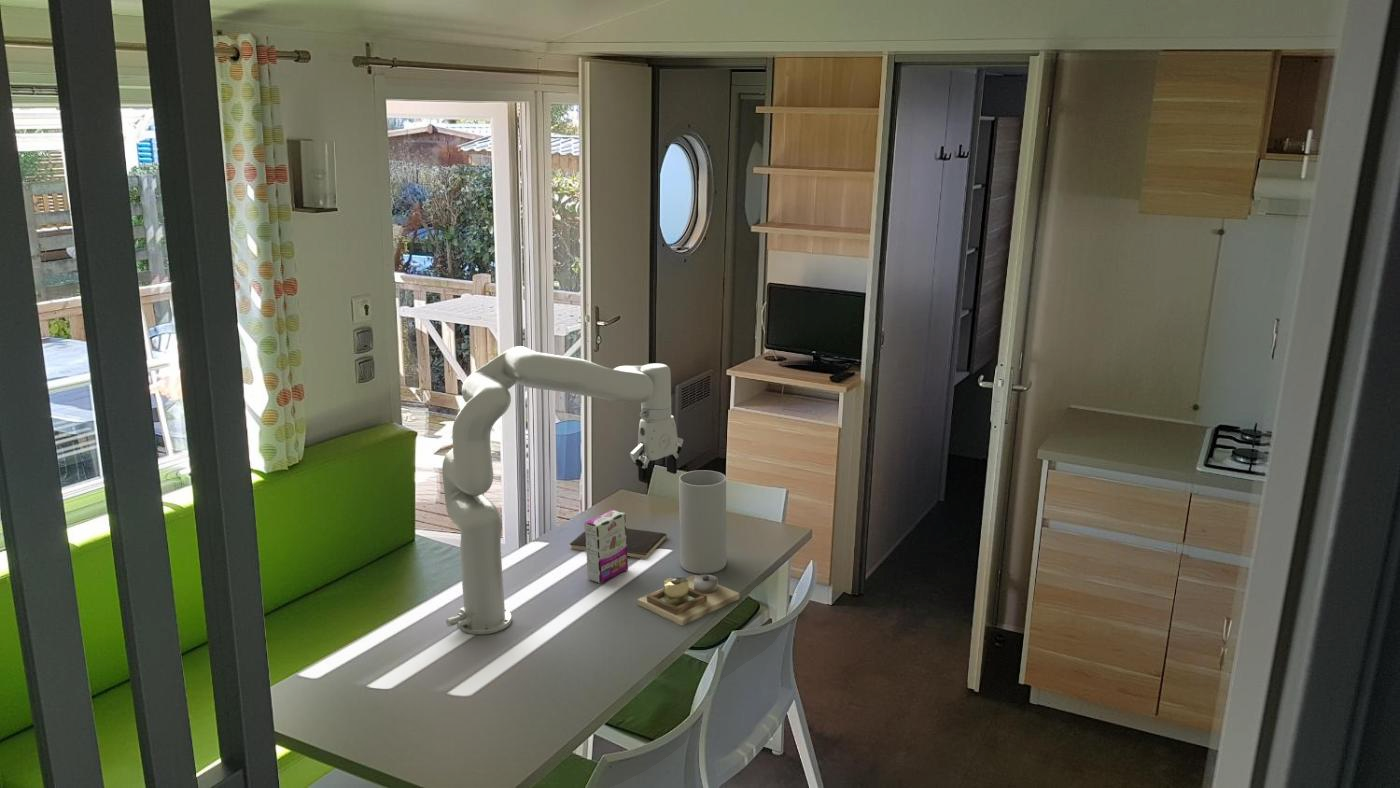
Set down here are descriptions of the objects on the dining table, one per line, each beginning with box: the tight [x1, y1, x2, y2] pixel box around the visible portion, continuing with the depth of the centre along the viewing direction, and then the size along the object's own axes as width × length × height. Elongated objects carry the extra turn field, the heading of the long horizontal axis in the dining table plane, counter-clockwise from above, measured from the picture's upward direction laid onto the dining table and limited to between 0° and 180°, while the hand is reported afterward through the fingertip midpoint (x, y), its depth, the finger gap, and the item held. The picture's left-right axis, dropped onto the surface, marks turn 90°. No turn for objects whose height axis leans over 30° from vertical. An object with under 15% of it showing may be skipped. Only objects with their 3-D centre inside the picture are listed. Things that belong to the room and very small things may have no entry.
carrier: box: [637, 574, 740, 626], centre depth 257 cm, size 20×16×5 cm
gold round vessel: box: [663, 576, 689, 606], centre depth 254 cm, size 6×6×6 cm
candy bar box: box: [584, 509, 629, 584], centre depth 272 cm, size 11×5×16 cm, turn 143°
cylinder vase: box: [678, 469, 728, 575], centre depth 276 cm, size 12×12×25 cm
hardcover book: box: [569, 527, 667, 560], centre depth 294 cm, size 16×23×2 cm
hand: (657, 477), depth 264 cm, fingers open, 9 cm apart
